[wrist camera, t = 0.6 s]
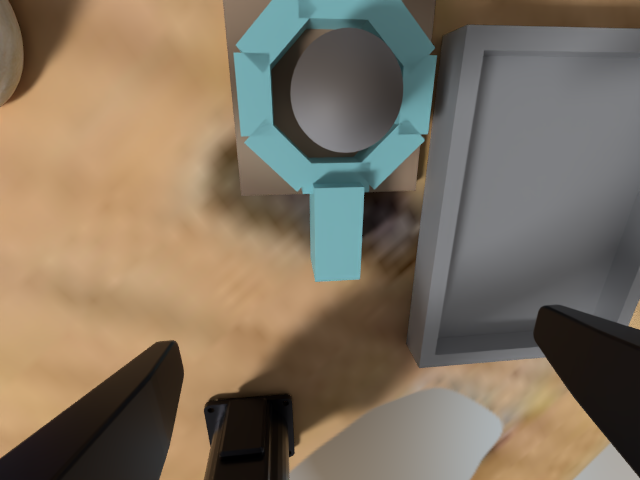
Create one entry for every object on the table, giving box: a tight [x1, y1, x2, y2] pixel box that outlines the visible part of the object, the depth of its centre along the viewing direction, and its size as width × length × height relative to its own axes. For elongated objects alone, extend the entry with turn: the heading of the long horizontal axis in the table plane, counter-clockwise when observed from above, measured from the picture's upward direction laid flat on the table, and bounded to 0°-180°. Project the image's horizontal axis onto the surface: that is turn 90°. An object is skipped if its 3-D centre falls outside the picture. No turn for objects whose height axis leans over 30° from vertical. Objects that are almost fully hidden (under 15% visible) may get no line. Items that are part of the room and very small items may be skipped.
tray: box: [406, 25, 640, 368], centre depth 21 cm, size 20×15×2 cm
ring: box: [234, 0, 437, 282], centre depth 16 cm, size 14×9×3 cm, turn 0°
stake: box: [223, 0, 436, 196], centre depth 15 cm, size 10×10×6 cm
